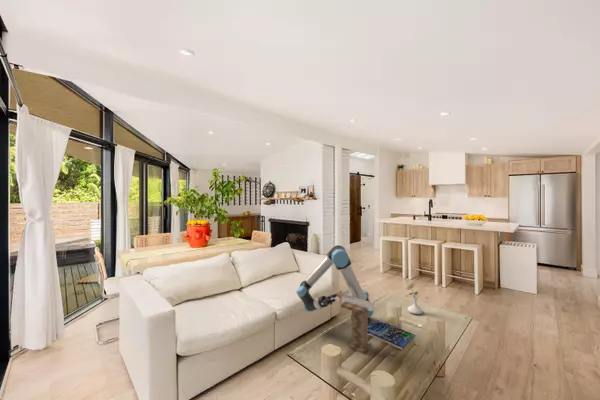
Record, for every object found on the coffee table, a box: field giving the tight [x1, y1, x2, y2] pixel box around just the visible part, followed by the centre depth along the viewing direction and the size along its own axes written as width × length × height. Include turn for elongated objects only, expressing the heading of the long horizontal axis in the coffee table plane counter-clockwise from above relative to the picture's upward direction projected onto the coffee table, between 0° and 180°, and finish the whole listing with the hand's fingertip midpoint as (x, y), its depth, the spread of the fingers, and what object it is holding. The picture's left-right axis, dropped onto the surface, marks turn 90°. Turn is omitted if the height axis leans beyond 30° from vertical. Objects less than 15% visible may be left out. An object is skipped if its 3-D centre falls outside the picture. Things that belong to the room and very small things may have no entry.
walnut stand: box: [340, 302, 372, 355], centre depth 178 cm, size 17×10×28 cm, turn 52°
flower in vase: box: [406, 282, 423, 315], centre depth 223 cm, size 13×11×25 cm
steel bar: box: [335, 291, 375, 312], centre depth 178 cm, size 26×4×4 cm, turn 52°
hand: (344, 294), depth 182 cm, fingers open, 13 cm apart
